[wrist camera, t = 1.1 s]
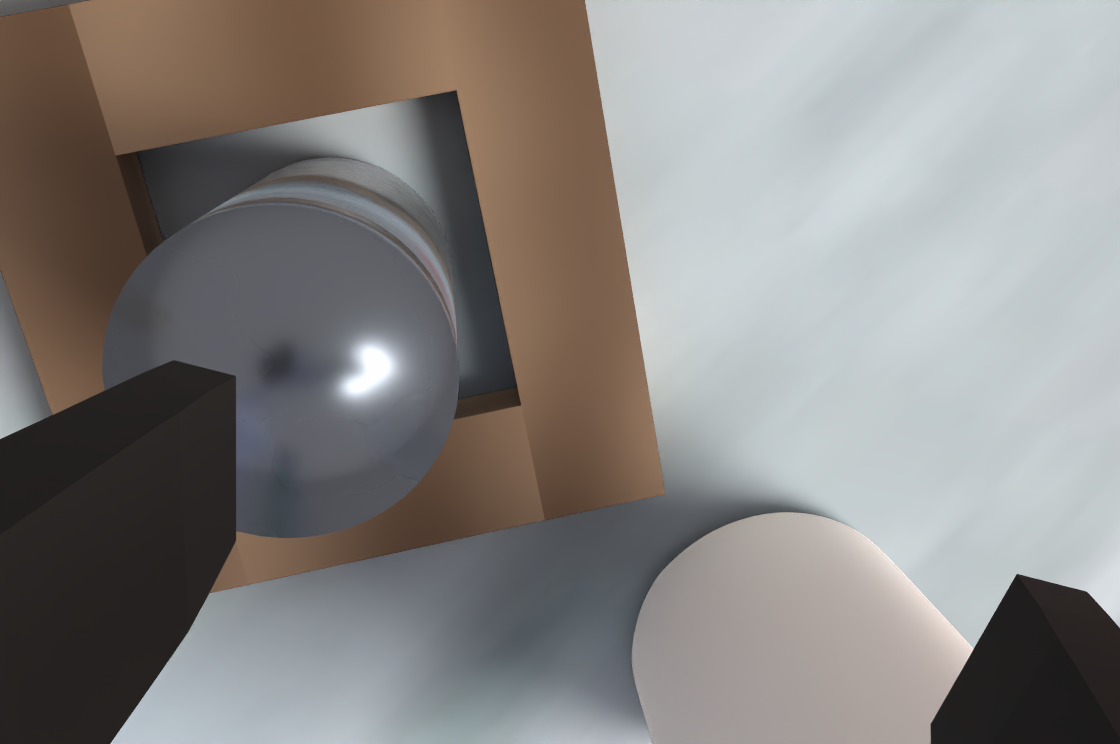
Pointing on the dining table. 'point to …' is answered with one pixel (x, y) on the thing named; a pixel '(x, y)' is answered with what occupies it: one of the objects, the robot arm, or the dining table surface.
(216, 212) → the grey metal cylinder
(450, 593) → the dining table surface
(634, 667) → the can
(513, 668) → the dining table surface
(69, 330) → the collar
